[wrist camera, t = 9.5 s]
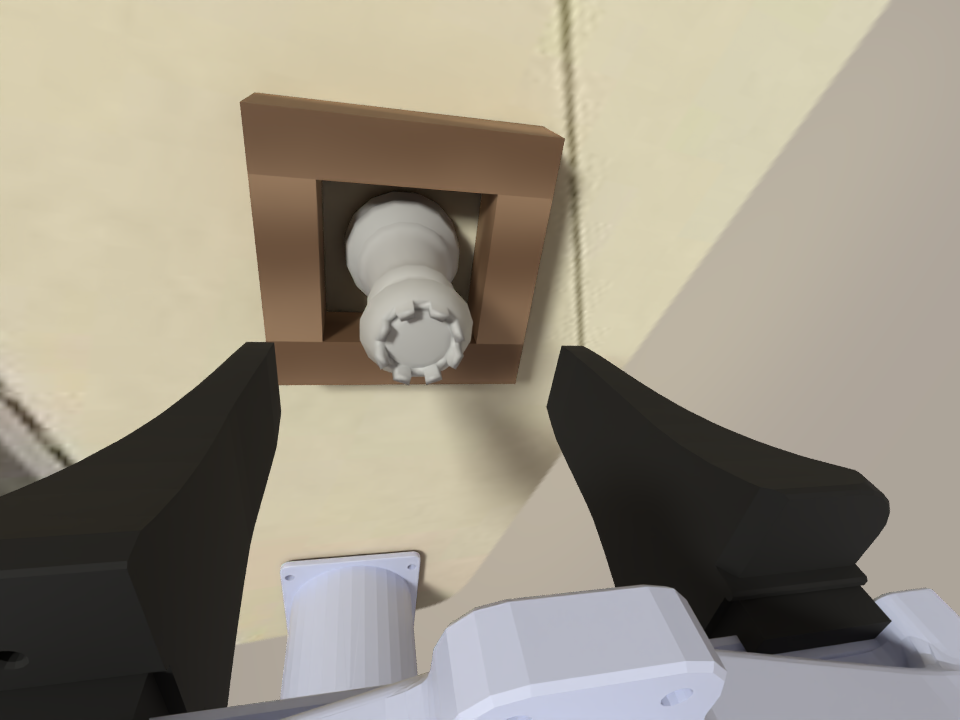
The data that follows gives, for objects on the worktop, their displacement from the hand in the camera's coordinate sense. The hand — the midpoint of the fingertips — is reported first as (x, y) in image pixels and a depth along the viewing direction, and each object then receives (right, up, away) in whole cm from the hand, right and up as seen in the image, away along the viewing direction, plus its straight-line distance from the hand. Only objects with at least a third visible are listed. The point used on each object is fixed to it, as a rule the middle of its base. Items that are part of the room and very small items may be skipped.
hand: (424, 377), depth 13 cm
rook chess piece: (-2, +5, +8) cm, 9 cm away
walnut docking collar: (-2, +5, +7) cm, 9 cm away
